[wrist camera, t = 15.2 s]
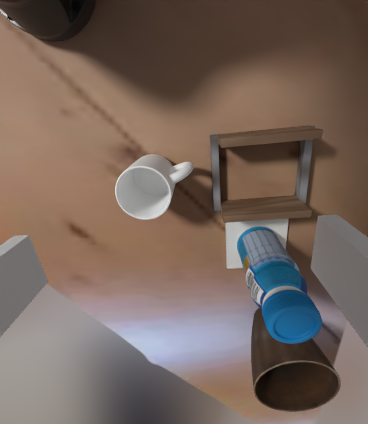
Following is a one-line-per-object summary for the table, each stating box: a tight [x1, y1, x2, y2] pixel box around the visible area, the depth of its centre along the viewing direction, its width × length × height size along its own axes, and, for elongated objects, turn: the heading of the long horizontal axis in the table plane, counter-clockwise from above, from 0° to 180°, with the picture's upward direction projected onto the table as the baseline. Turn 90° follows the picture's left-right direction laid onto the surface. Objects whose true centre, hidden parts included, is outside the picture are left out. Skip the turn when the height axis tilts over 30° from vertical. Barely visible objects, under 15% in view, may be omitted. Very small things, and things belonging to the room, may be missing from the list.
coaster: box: [225, 219, 288, 269], centre depth 47 cm, size 12×12×1 cm
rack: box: [210, 126, 323, 223], centre depth 38 cm, size 13×16×7 cm
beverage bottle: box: [237, 226, 322, 344], centre depth 38 cm, size 8×8×20 cm
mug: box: [115, 154, 194, 220], centre depth 38 cm, size 12×8×10 cm
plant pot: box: [251, 308, 341, 412], centre depth 48 cm, size 15×15×16 cm
